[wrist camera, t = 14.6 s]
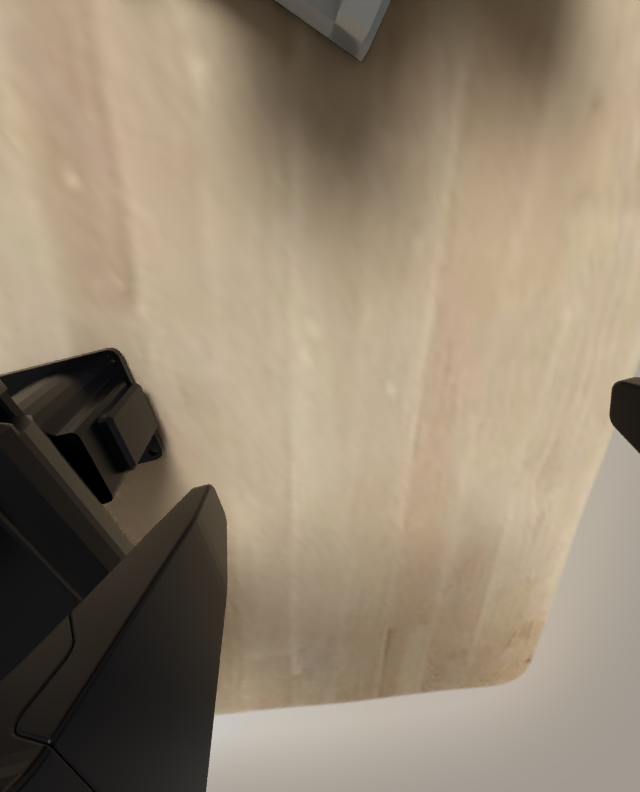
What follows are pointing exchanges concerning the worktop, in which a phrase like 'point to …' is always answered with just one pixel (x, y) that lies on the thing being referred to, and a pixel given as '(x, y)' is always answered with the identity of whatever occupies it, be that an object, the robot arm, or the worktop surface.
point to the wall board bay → (342, 20)
